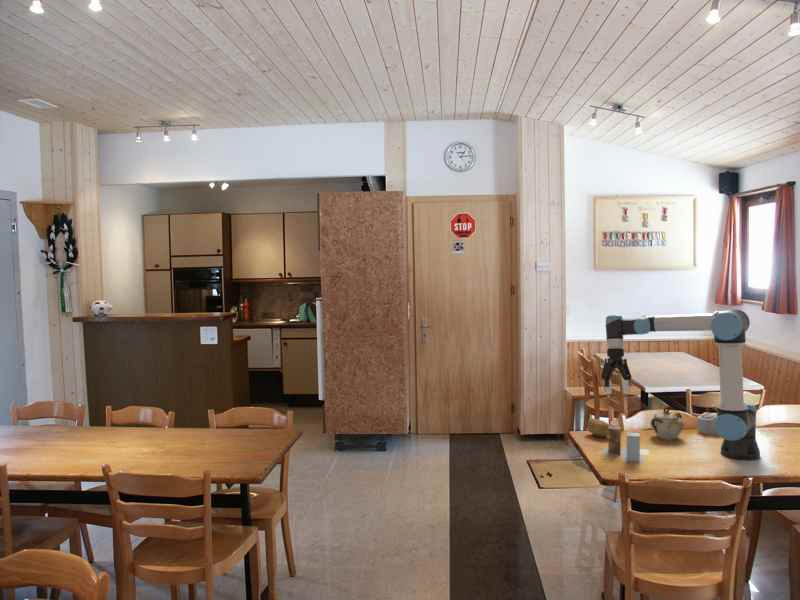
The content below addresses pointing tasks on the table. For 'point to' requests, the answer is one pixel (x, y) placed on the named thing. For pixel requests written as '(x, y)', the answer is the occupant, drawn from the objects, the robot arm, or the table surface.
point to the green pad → (644, 452)
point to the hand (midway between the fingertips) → (617, 394)
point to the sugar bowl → (667, 424)
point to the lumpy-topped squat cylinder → (706, 423)
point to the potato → (598, 427)
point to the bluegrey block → (633, 447)
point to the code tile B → (632, 461)
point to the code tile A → (606, 452)
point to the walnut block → (614, 440)
